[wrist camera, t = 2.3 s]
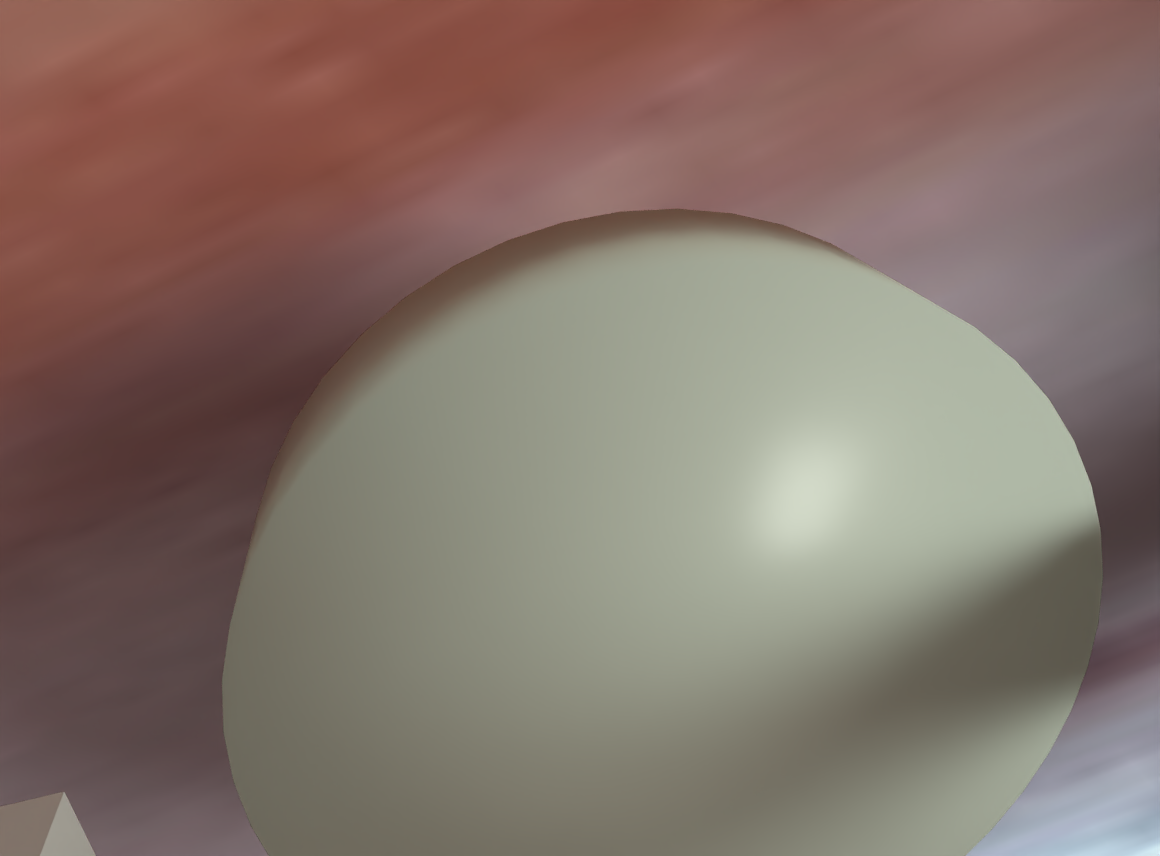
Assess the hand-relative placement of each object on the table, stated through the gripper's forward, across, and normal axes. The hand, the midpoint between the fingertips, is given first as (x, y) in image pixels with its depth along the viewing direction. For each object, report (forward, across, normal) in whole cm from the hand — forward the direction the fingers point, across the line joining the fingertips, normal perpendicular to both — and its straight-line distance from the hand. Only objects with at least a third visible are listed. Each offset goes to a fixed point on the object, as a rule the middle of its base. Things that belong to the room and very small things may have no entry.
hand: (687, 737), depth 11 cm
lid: (+3, 0, 0) cm, 3 cm away
